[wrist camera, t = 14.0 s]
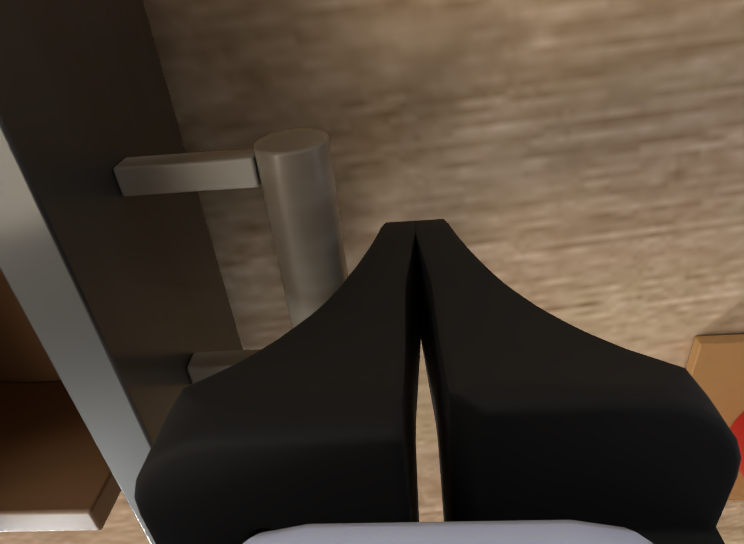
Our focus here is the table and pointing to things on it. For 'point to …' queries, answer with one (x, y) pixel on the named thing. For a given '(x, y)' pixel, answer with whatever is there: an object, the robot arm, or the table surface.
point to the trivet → (721, 380)
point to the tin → (739, 438)
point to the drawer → (120, 255)
